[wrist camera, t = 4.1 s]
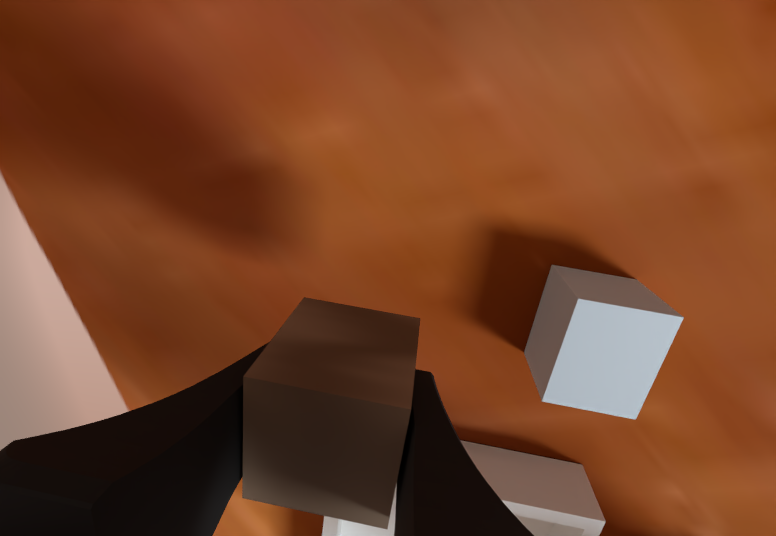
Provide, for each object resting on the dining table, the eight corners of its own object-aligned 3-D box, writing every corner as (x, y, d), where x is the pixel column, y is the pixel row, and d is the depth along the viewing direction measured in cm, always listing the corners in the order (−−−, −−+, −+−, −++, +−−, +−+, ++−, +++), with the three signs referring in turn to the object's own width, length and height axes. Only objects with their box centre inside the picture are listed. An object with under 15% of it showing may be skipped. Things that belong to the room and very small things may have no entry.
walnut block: (420, 318, 13) (411, 409, 9) (402, 413, 15) (387, 529, 11) (304, 297, 14) (243, 376, 9) (297, 392, 15) (242, 497, 11)
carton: (635, 278, 19) (683, 317, 15) (600, 365, 21) (635, 419, 17) (551, 263, 19) (578, 298, 15) (523, 351, 21) (542, 401, 17)
